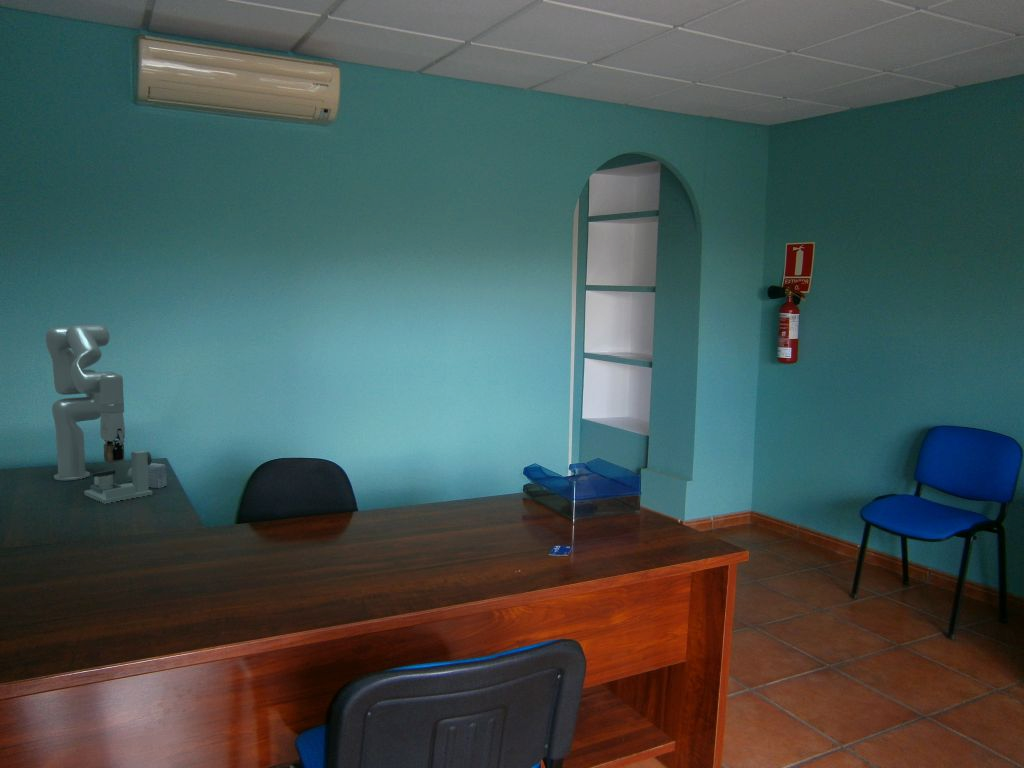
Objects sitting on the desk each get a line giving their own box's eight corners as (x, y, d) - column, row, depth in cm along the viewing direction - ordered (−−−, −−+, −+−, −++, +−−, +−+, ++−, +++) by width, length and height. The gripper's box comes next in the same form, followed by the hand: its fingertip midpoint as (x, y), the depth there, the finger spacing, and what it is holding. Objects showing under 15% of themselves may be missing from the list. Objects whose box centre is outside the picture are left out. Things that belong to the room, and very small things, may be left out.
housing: (104, 460, 284) (103, 443, 283) (118, 458, 288) (117, 441, 287) (110, 463, 281) (109, 445, 280) (124, 460, 285) (123, 443, 284)
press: (84, 494, 290) (82, 451, 288) (133, 486, 303) (131, 445, 301) (104, 504, 279) (102, 459, 277) (154, 494, 292) (153, 452, 290)
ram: (90, 489, 291) (89, 472, 290) (112, 485, 297) (112, 469, 296) (94, 491, 288) (94, 474, 287) (117, 487, 294) (116, 471, 293)
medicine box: (166, 486, 304) (166, 464, 303) (158, 489, 300) (157, 466, 299) (150, 484, 307) (149, 462, 306) (141, 487, 302) (140, 464, 301)
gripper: (91, 407, 285) (93, 456, 287) (111, 412, 274) (114, 464, 276) (112, 404, 291) (115, 453, 293) (133, 410, 280) (135, 460, 282)
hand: (114, 458), depth 284 cm, fingers closed on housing, 5 cm apart
